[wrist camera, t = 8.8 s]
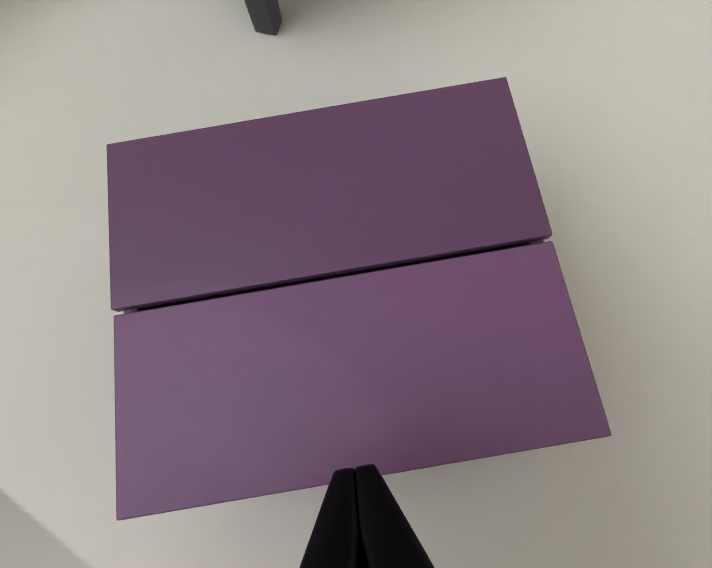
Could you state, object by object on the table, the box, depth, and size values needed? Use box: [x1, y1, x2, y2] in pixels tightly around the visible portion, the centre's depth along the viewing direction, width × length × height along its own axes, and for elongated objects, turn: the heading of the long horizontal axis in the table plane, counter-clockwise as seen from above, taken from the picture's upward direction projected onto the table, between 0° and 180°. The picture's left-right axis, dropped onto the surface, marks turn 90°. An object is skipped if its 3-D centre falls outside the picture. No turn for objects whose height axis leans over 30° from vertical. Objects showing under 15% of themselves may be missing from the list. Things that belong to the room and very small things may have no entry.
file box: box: [107, 77, 552, 314], centre depth 18 cm, size 12×14×8 cm
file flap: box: [114, 241, 611, 520], centre depth 13 cm, size 6×14×1 cm, turn 99°
